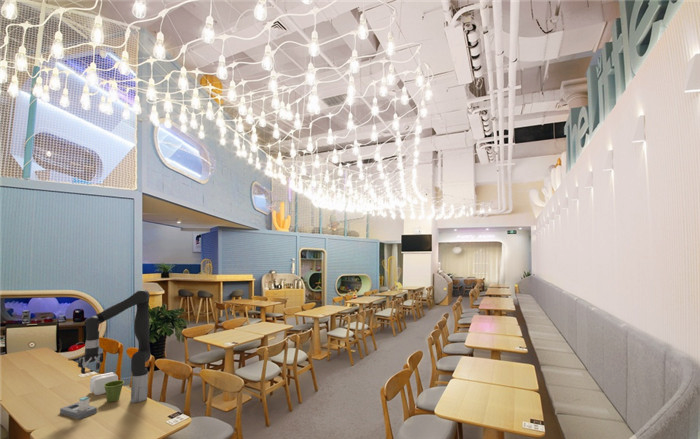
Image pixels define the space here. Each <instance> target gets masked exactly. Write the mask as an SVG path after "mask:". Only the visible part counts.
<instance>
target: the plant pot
mask: <svg viewBox="0 0 700 439" xmlns="http://www.w3.org/2000/svg"><path fill="white" fill-rule="evenodd" d="M124 383H125V381H124V380H122V379H121V380H119V379H118V380H117V381H111V382H108V383H106V384H104V387H105V391H106V393H105V398H106V402H107V403H113V402H117V401H119V400H120V397H121V392H122V389H123V386H124Z"/></svg>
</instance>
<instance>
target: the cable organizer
mask: <svg viewBox="0 0 700 439" xmlns="http://www.w3.org/2000/svg"><path fill="white" fill-rule="evenodd" d="M117 380H119V376H118V375H117V374H116V373H115V372H112V371H111V372H107V373H101V374H96V375H93V376H91V377H90V381H89V391H90V392H91V393H93V394H94V395H96V396H97V395H98V396H100V395H103V394H106V391H105V387H104V384H106V383H108V382H111V381H117Z"/></svg>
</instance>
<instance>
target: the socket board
mask: <svg viewBox="0 0 700 439" xmlns="http://www.w3.org/2000/svg"><path fill="white" fill-rule="evenodd" d="M97 410H98V407H96V406H93V405H89V408H88V409H87V410H85V411H82V412H81V411H79V401H78V402H75V403H72V404H70V405H66V406H63V407H61V408H59V414H61V415H64V416H67V417H70V418H74V419H77V420H82V419H83V418H86V417H89V416H91V415H94V414H96V413H98V412H97Z"/></svg>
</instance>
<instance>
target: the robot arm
mask: <svg viewBox="0 0 700 439" xmlns="http://www.w3.org/2000/svg"><path fill="white" fill-rule="evenodd" d="M149 304H150V291H148V290H147V289H140V290H137V291H135V292H134V293H133V294H132V295H130V296H129V297H127V298H126V299H124V300H122V301H120V302H118V303H115V304H114V305H111V306H110V307H108V308H106V309H104V310H103V311H101V312H99V313H96V314H94V315H93V316H91V317H89V318H87V320H86V321H85V332H86V338H85V343H84V344H85V345H84V356H82V357H79V358H78V364H77V367H78V368H81V369H80V373H81V374H82V375H83V374H86V366H87V365H88V364H90V363H92V362H95V370H96V371H97V370H100V368H101V367H100V366H101V363H103V362H104V353H103V352H100V330H99V325H100V324H102V323H104V322H106V321H108V320H110V319H112V318H114V317H116V316H118V315H120V314H121V313H123V312H124V311H126V310H127V309H130V308H131V307H134V306H136V312H135V317H134V321H133V322H134V323H133V324H134V326H133V327H134V328H133V330H134V331H133V332H134V335H135V337H136V340H137V343H138V344H137V345H138V347H137V348H138V350H137V351H135V352H134V353H133V354H132V357H131V360H130V365H131V366H130V367H131V369H130V370H131V388H130V403H132V404H133V403H142V402H143V401H146V400H148V390H149V389H148V387H149V385H148V373H149V370H148V368H147V367H146V362H147V363H148V361H149V360H150V358H151V355H152V353H151V346H150V344H151V343H150V313H149ZM98 357H99V358H98Z"/></svg>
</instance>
